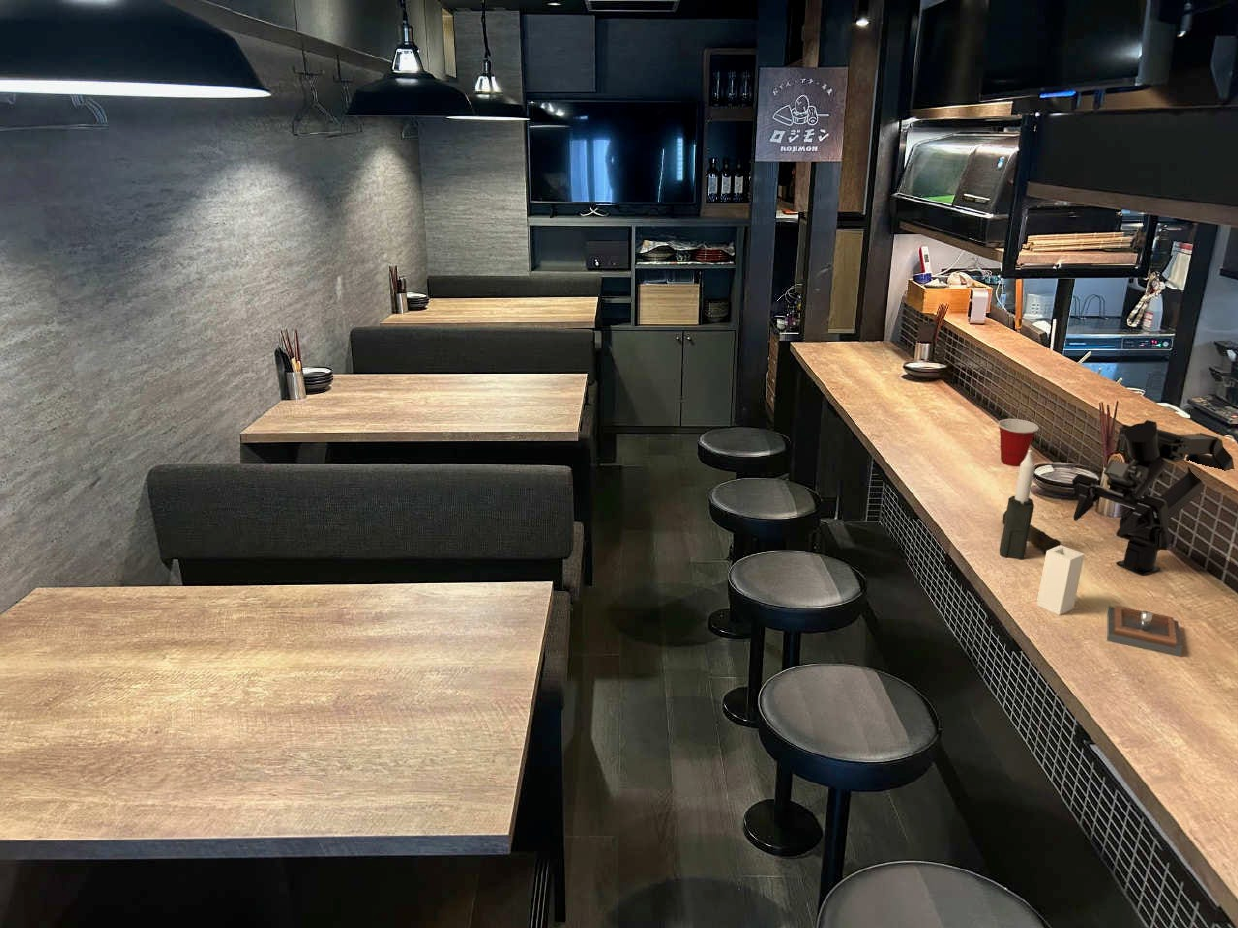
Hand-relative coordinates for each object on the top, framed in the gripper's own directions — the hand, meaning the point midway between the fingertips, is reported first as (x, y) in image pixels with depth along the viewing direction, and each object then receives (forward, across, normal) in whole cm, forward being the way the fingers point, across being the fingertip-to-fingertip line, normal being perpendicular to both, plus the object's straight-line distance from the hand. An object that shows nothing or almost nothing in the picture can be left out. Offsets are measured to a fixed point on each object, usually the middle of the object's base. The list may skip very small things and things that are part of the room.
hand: (1095, 527), depth 188 cm
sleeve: (+18, +1, +6) cm, 19 cm away
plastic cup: (-41, -58, +46) cm, 85 cm away
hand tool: (-3, -23, +20) cm, 31 cm away
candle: (+6, -19, +14) cm, 24 cm away
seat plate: (+14, +17, +8) cm, 23 cm away
